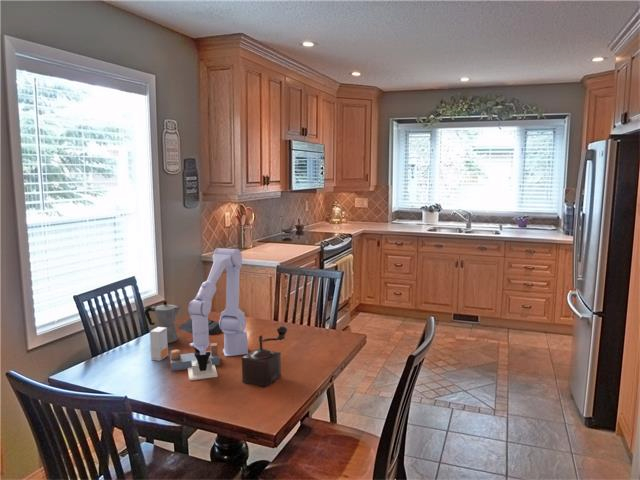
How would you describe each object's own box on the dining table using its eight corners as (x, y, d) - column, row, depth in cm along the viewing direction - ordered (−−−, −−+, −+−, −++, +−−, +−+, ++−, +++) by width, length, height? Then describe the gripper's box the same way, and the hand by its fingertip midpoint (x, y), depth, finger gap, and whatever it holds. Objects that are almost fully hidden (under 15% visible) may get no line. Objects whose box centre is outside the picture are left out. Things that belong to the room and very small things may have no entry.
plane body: (217, 357, 196) (216, 340, 195) (219, 364, 188) (218, 347, 187) (170, 362, 190) (169, 345, 189) (171, 370, 183) (170, 353, 182)
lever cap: (210, 367, 184) (210, 357, 183) (212, 372, 179) (211, 361, 179) (191, 369, 182) (191, 359, 181) (192, 375, 177) (192, 364, 176)
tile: (214, 366, 187) (214, 364, 187) (217, 376, 177) (217, 374, 177) (187, 369, 184) (187, 367, 184) (189, 380, 174) (189, 378, 174)
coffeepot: (182, 335, 222) (181, 297, 220) (181, 342, 213) (179, 302, 211) (147, 338, 219) (145, 299, 216) (144, 345, 210) (142, 304, 207)
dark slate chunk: (201, 321, 245) (201, 311, 244) (230, 330, 231) (229, 320, 230) (175, 328, 233) (175, 319, 232) (203, 338, 219) (203, 328, 218)
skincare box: (160, 361, 192) (159, 332, 191) (151, 360, 193) (149, 331, 192) (168, 355, 198) (167, 327, 197) (159, 354, 199) (157, 326, 197)
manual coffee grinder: (267, 388, 168) (266, 338, 165) (241, 382, 173) (240, 333, 170) (290, 371, 181) (289, 325, 179) (265, 366, 186) (264, 321, 184)
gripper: (188, 326, 184) (189, 360, 186) (190, 339, 170) (192, 375, 172) (207, 324, 186) (208, 358, 188) (211, 336, 172) (212, 373, 174)
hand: (202, 366), depth 180 cm, fingers open, 7 cm apart
